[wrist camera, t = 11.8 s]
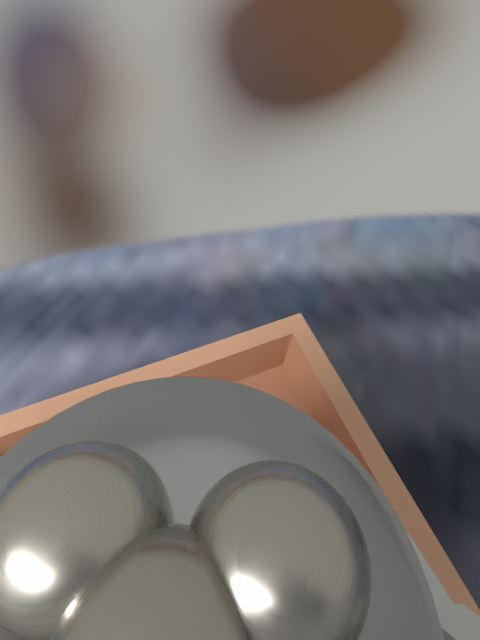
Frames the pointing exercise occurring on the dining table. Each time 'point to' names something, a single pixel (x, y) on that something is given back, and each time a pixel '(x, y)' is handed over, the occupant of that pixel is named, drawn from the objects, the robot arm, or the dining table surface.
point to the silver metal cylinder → (200, 525)
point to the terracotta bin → (286, 384)
